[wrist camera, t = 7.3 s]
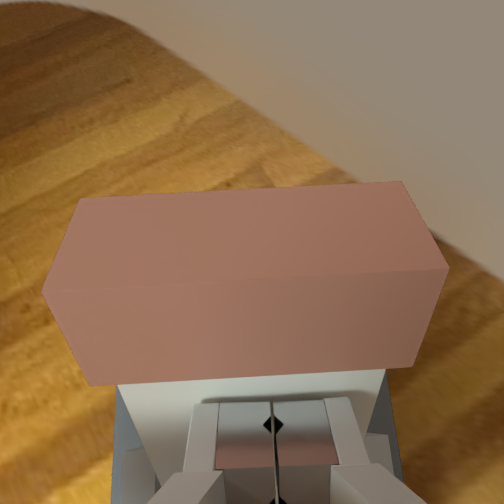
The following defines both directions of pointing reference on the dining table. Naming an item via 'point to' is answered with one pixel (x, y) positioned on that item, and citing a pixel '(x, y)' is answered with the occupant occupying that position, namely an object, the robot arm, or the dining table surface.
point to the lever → (243, 299)
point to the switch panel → (147, 484)
